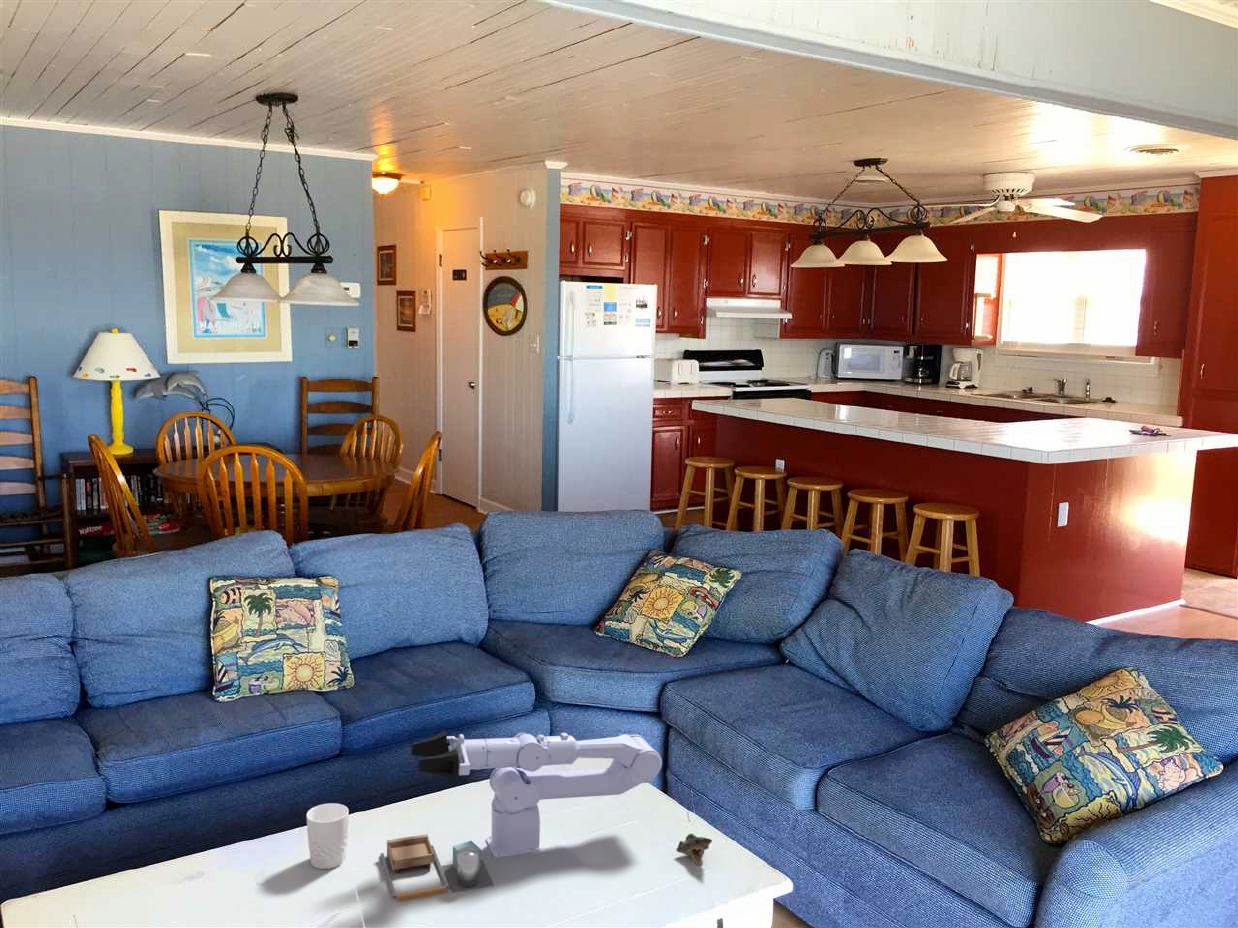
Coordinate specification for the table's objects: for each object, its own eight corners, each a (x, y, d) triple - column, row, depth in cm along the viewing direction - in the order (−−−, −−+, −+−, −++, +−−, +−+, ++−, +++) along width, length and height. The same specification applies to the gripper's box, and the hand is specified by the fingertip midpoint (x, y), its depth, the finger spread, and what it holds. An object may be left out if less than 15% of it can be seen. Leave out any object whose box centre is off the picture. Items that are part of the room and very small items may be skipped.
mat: (481, 860, 200) (481, 858, 200) (494, 886, 190) (494, 884, 190) (441, 866, 197) (441, 865, 197) (452, 893, 188) (452, 892, 187)
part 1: (471, 859, 199) (471, 840, 199) (480, 868, 196) (480, 848, 196) (452, 865, 197) (452, 846, 196) (462, 874, 194) (462, 854, 193)
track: (432, 848, 204) (432, 843, 203) (450, 893, 188) (450, 887, 188) (380, 857, 200) (380, 851, 200) (393, 903, 184) (393, 897, 184)
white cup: (337, 873, 194) (336, 824, 192) (299, 868, 195) (298, 819, 194) (355, 853, 201) (355, 805, 200) (319, 848, 203) (318, 801, 201)
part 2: (475, 875, 194) (476, 845, 193) (480, 885, 190) (480, 855, 189) (455, 878, 192) (455, 849, 191) (459, 889, 188) (459, 859, 188)
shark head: (717, 871, 200) (725, 840, 199) (689, 872, 197) (697, 840, 196) (700, 848, 207) (707, 818, 206) (672, 849, 204) (680, 818, 203)
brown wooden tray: (427, 850, 203) (427, 833, 202) (434, 869, 196) (434, 852, 195) (386, 856, 200) (386, 840, 199) (392, 876, 193) (392, 858, 192)
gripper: (476, 720, 207) (410, 723, 202) (494, 748, 193) (423, 751, 188) (473, 753, 208) (407, 756, 203) (490, 783, 194) (420, 787, 189)
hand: (414, 756), depth 196 cm, fingers open, 7 cm apart
